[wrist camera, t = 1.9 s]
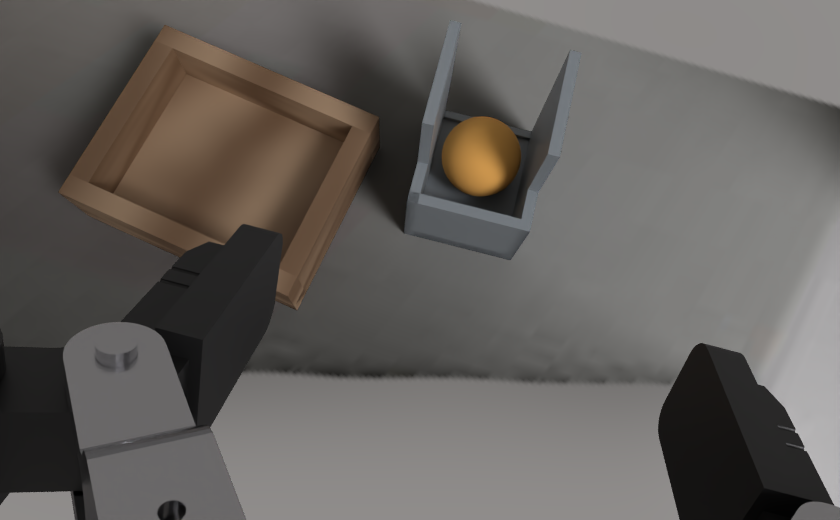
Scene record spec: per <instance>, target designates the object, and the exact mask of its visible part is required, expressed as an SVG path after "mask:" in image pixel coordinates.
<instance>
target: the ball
mask: <svg viewBox="0 0 840 520" xmlns="http://www.w3.org/2000/svg"><path fill="white" fill-rule="evenodd" d="M520 163H521V149H520V145H519V142H518V139H517V137H516V135H515V134H514V132H513V131H512V130H511V129H510V128H509V127H508V126H507V125H506V124H504V123H503V122H501V121H499V120H497V119H495V118H491V117H485V116H480V117H473V118H469V119H467V120H464V121H462V122H461V123H459V124H458V125H457V126H455V127H454V128H453V129H452V131H451V132H450V133H449V135H448V136H447V138H446V140H445V142H444V145H443V149H442V165H443V169H444V172H445V174H446V176H447V178H448V179H449V181H450V182H451V183H452V184H453V185H454V186H455V187H456V188H457V189H459V190H460V191H462V192H464V193H466V194H468V195H472V196H481V197H482V196H490V195H493V194H496V193H498V192H500V191H502V190H503V189H505V188H506V187H507V186H508V185H509V184H510V183H511V182H512V181H513V180H514V178H515V177H516V175H517V173H518V170H519V167H520Z"/></svg>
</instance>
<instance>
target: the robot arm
mask: <svg viewBox="0 0 840 520" xmlns="http://www.w3.org/2000/svg"><path fill="white" fill-rule="evenodd" d="M282 245H283V237H282V234H281V233H278V232H274V231H270V230H266V229H263V228H259V227H255V226H251V225H247V224H242V225H241V226H240V227H239V228H238V229H237V230H236V232H235V233H234V234H233V235H232V236H231V238H230V239H229V240H228V241H227V242H226V244H225V245H221V244H217V243H213V242H206V243H204V244H202V245H200V246H197V247H195V248H193V249H191V250H188V251H186V252H185V253H184V254H183V255H182V256H181V257H180V259H179V260H178V261H177V262H176V263H175V264H174V265H173V266H172V269H169V270H168V271H167V273H166V274H165V275H164V276H163V277H162V278H161V281H160V282H157V283H156V284H155V285H154V287H153V288H152V289H151V290H150V291H149V292H148V293H147V294H146V295H145V296H144V297H143V298H142V299H141V300H140V302H139V303H138V304H137V305H136V306H135V307H134V308H133V309H132V310H131V311H130V312H129V313H128V314H127V316H126V317H125V318H124V319H123V320H122V321H121V322H111V323H104V324H99V325H95V326H92V327H89V328H87V329H84V330H83V331H81V332H79V333H77V334H76V335H75V336H73V337H72V338H71V339H70V340H69V341H68V343H67V344H66V346H65V347H63V348H33V347H4V344H3V335H2V332H1V330H0V505H1V503H2V502H3V501H4V499H5V498H6V497H7V496H8V494H9V493H11V492H54V491H55V492H56V491H71V497H72V504H73V510H74V516H75V520H246V518H245V515H244V512H243V510H242V507H241V504H240V502H239V499H238V497H237V494H236V491H235V489H234V486H233V483H232V481H231V478H230V476H229V473H228V470H227V468H226V465H225V463H224V460H223V457H222V455H221V452H220V449H219V447H218V444H217V442H216V439H215V437H214V434H213V432H212V431H211V428H210V427H211V425H212V423H213V422H214V420H215V418H216V416H217V415H218V413H219V411H220V410H221V408H222V406H223V404H224V403H225V401H226V399H227V397H228V396H229V394H230V392H231V391H232V389H233V387H234V385H235V384H236V382H237V380H238V379H239V377H240V375H241V373H242V372H243V370H244V368H245V367H246V365H247V363H248V361H249V360H250V358H251V356H252V354H253V353H254V351H255V349H256V348H257V346H258V344H259V342H260V341H261V339H262V337H263V336H264V334H265V332H266V330H267V327H268V325H269V322H270V319H271V316H272V313H273V309H274V304H275V297H276V290H277V283H278V275H279V268H280V260H281V253H282ZM658 434H659V439H660V443H661V447H662V451H663V455H664V459H665V463H666V467H667V471H668V475H669V479H670V483H671V487H672V491H673V495H674V499H675V503H676V507H677V511H678V515H679V519H680V520H840V508H839V507H836V506H834V504H833V502H832V500H831V498H830V496H829V494H828V492H827V490H826V488H825V486H824V484H823V482H822V480H821V478H820V476H819V474H818V473H817V471H816V469H815V467H814V465H813V463H812V461H811V459H810V457H809V455H808V453H807V451H804V445H803V443H802V441H801V439H800V437H799V435H798V434H797V433H795V427H794V425H793V423H792V421H791V419H790V417H789V416H788V414H787V412H786V410H785V408H784V407H783V406H782V405H781V404H780V402H779V401H778V400H777V399H776V398H775V397H774V396H773V395H772V394H771V393H770V392H769V391H768V390H767V389H766V388H765V387H764V386H761V385H758V384H757V382H756V380H755V378H754V376H753V374H752V372H751V369H750V367H749V365H748V363H747V361H746V359H745V357H744V356H743V355H742V354H741V353H738V352H734V351H730V350H726V349H722V348H719V347H715V346H711V345H707V344H703V343H700V344H698V345H696V346H695V347H694V348H693V350H692V351H691V353H690V354H689V356H688V358H687V360H686V362H685V364H684V366H683V368H682V370H681V372H680V374H679V375H678V377H677V379H676V381H675V383H674V385H673V387H672V389H671V391H670V393H669V394H668V396H667V398H666V400H665V402H664V404H663V407H662V409H661V413H660V417H659V424H658Z"/></svg>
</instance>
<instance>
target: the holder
mask: <svg viewBox="0 0 840 520" xmlns="http://www.w3.org/2000/svg"><path fill="white" fill-rule="evenodd" d="M460 28H461V23H459V22H455V21H451V20H450V23H449V26H448V30H447V34H446V37H445V41H444V45H443V48H442V52H441V56H440V59H439V63H438V67H437V70H436V74H435V78H434V81H433V85H432V88H431V92H430V96H429V99H428V103H427V107H426V110H425V114H424V118H423V121H422V128H421V137H420V145H419V154H418V162H417V166H416V169H415V173H414V177H413V181H412V184H411V188H410V192H409V195H408V199H407V207H406V218H405V228H404V233H405V234H409V235H413V236H417V237H421V238H425V239H429V240H433V241H437V242H441V243H445V244H449V245H452V246H456V247H460V248H464V249H468V250H472V251H476V252H480V253H484V254H488V255H492V256H496V257H500V258H504V259H508V260H511V259H512V257H513V256H514V254H515V253H516V251H517V250H518V248H519V247H520V245H521V244H522V242H523V241H524V240H525V238H526V237H527V235H528V234H529V232H530V229H531V224H532V219H533V215H534V210H535V206H536V201H537V196H538V192H539V190H540V189H541V187H542V185H543V184H544V182H545V180H546V179H547V177H548V176H549V174H550V172H551V171H552V169H553V167H554V166H555V164H556V162H557V161H558V159H559V158H560V153H561V149H562V144H563V139H564V134H565V130H566V125H567V120H568V115H569V110H570V106H571V101H572V96H573V91H574V87H575V82H576V77H577V72H578V67H579V63H580V58H581V52H576V51H572V50H570V51H569V54H568V56H567V58H566V60H565V62H564V64H563V66H562V68H561V71H560V73H559V75H558V77H557V79H556V81H555V83H554V85H553V88H552V90H551V92H550V94H549V96H548V98H547V100H546V102H545V105H544V107H543V109H542V111H541V113H540V115H539V117H538V119H537V122H536V124H535V126H534V128H533V130H532V132H531V131H527V130H523V129H519V128H515V127H511V126H508V127H509V128H510V129H511V130H512V131H513V132H514V134H515V135H516V137H517V139H518V142H519V145H520V149H521V163H520V167H519V170H518V173H517V175H516V177H515V178H514V180H513V181H512V182H511V183H510V184H509V185H508V186H507V187H506V188H505V189H503V190H502V191H500V192H498V193H496V194H493V195H490V196H482V197H481V196H472V195H468V194H466V193H464V192H462V191H460V190H459V189H457V188H456V187H455V186H454V185H453V184H452V183H451V182H450V181H449V179H448V178H447V176H446V174H445V172H444V169H443V165H442V149H443V145H444V142H445V140H446V138H447V136H448V135H449V133H450V132H451V131H452V129H453V128H454V127H455V126H457V125H458V124H459V123H461V122H462V121H464V120H467V119H469V118H473V117H471V116H467V115H463V114H459V113H455V112H451V111H447V110H446V105H447V100H448V94H449V89H450V83H451V78H452V72H453V67H454V61H455V56H456V50H457V45H458V39H459V34H460Z"/></svg>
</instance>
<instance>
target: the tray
mask: <svg viewBox="0 0 840 520" xmlns="http://www.w3.org/2000/svg"><path fill="white" fill-rule="evenodd" d="M379 147H380V136H379V117H378V116H375V115H373V114H371V113H368V112H366V111H364V110H361V109H359V108H357V107H354V106H352V105H350V104H347V103H345V102H343V101H340V100H338V99H336V98H333V97H331V96H329V95H327V94H324V93H322V92H320V91H317V90H315V89H313V88H310V87H308V86H306V85H303V84H301V83H299V82H296V81H294V80H292V79H289V78H287V77H285V76H282V75H280V74H278V73H275V72H273V71H271V70H268V69H266V68H264V67H261V66H259V65H257V64H255V63H252V62H250V61H248V60H245V59H243V58H241V57H238V56H236V55H234V54H231V53H229V52H227V51H224V50H222V49H220V48H217V47H215V46H213V45H210V44H208V43H206V42H203V41H201V40H199V39H196V38H194V37H192V36H190V35H187V34H185V33H183V32H180V31H178V30H176V29H173V28H171V27H169V26H166V25H164V27H163V29H162V30H161V32H160V33H159V35H158V36H157V38H156V39H155V41H154V43H153V44H152V46H151V47H150V49H149V50H148V52H147V54H146V55H145V57H144V58H143V60H142V61H141V63H140V65H139V66H138V68H137V69H136V71H135V72H134V74H133V76H132V77H131V79H130V80H129V82H128V83H127V85H126V87H125V88H124V90H123V91H122V93H121V94H120V96H119V97H118V99H117V101H116V102H115V104H114V105H113V107H112V108H111V110H110V112H109V113H108V115H107V116H106V118H105V119H104V121H103V123H102V124H101V126H100V127H99V129H98V130H97V132H96V134H95V135H94V137H93V138H92V140H91V141H90V143H89V144H88V146H87V148H86V149H85V151H84V152H83V154H82V155H81V157H80V159H79V160H78V162H77V163H76V165H75V166H74V168H73V170H72V171H71V173H70V174H69V176H68V177H67V179H66V181H65V182H64V184H63V185H62V187H61V188H60V190H59V193H60V194H61V195H62V196H64V197H65V198H66V199H68V200H69V201H70V202H72V203H73V204H74V205H75V206H77V207H78V208H79V209H81V210H82V211H83V212H85V213H86V214H87V215H88V216H90V217H92V218H94V219H97V220H99V221H101V222H103V223H106V224H108V225H110V226H112V227H114V228H117V229H119V230H121V231H123V232H125V233H128V234H130V235H132V236H134V237H136V238H139V239H141V240H143V241H145V242H147V243H150V244H152V245H154V246H156V247H158V248H161V249H163V250H165V251H167V252H169V253H172V254H174V255H176V256H178V257H181V256H182V255H183V254H184V253H185V252H186V251H188V250H191V249H193V248H195V247H197V246H200V245H202V244H204V243H206V242H213V243H217V244H221V245H225V244H226V242H227V241H228V240H229V239H230V238H231V236H232V235H233V234H234V233H235V232H236V230H237V229H238V228H239V227H240V226H241V225H242V224H247V225H251V226H255V227H259V228H263V229H266V230H270V231H274V232H278V233H281V234H282V237H283V245H282V253H281V260H280V268H279V275H278V283H277V290H276V297H275V301H277V302H280V303H282V304H284V305H286V306H288V307H291V308H293V309H295V310H297V309H298V307H299V305H300V304H301V302H302V300H303V298H304V296H305V294H306V292H307V290H308V288H309V286H310V284H311V282H312V280H313V278H314V276H315V274H316V272H317V270H318V268H319V266H320V264H321V262H322V260H323V258H324V256H325V254H326V252H327V250H328V248H329V246H330V244H331V242H332V240H333V238H334V236H335V234H336V232H337V230H338V228H339V226H340V224H341V222H342V220H343V218H344V216H345V214H346V212H347V210H348V208H349V207H350V205H351V203H352V201H353V199H354V197H355V195H356V193H357V191H358V189H359V187H360V185H361V183H362V181H363V179H364V177H365V175H366V173H367V171H368V169H369V167H370V165H371V163H372V161H373V159H374V157H375V155H376V153H377V151H378V149H379Z"/></svg>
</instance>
